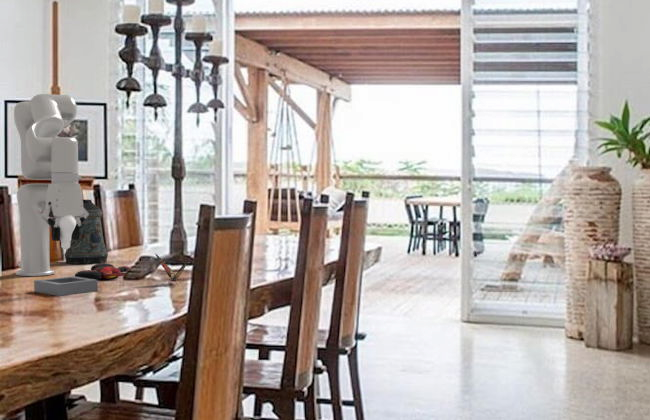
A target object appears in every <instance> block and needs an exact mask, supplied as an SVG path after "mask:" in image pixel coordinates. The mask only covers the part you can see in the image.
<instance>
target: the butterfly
mask: <svg viewBox="0 0 650 420" xmlns="http://www.w3.org/2000/svg"><path fill="white" fill-rule="evenodd" d="M192 255H193V254H191V255H190V256H189V257H188V258H187V259H186V261H185V262H184V263H183V264H182V266H181V267H180V268H179V269H178V271H177V272H176V274H175V272H174V270H172V268H171V267H170V266H169V265H168V264H167V263H166V262H165V261H163V259H162V257H160V256H159V255H158V254H157V253H155V257H156V258H157V260H158V261H159V263H160V265H161V266H162V268H163V269H164V271H165V272H166V273H167V276H168V277H169V278H168V281H167V283H166V284H164V286H167V285H168V284H169V283H171V282H175V284H176V285H178V283H177V282H180V281H179V277H180V276H181V274H182V273H183V271H184V270H185V268H186V267H187V263H188V261H189V259H190V258H191V257H192Z"/></svg>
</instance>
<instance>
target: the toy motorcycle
mask: <svg viewBox="0 0 650 420" xmlns="http://www.w3.org/2000/svg"><path fill="white" fill-rule="evenodd" d="M130 270H131V267H129V266H127V265H123V266H118V267H115V266H114V265H113V264H111V263H107V262H106V263H101V264H92V265H91V268H90V269H86V270H85V269H84V270H80V271H77V272H76V273H75V274H74V276H75V277H81V278H88V279H95V280H98V281H99V280H100V279H105V280H106V279H107V280H108V279H116V278H118V277H123V276H127V274H126V273H127V272H129V271H130ZM122 273H123V274H122Z"/></svg>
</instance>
